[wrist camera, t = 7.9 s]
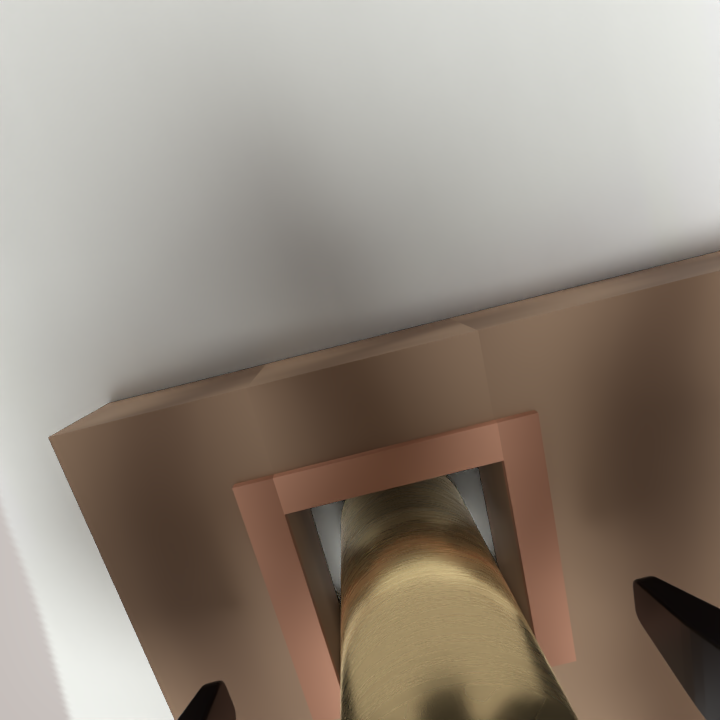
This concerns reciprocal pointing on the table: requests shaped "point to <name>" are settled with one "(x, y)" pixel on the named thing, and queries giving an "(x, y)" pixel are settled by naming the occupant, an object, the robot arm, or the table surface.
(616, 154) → the table surface
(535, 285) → the table surface
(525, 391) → the walnut board
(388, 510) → the brass peg
